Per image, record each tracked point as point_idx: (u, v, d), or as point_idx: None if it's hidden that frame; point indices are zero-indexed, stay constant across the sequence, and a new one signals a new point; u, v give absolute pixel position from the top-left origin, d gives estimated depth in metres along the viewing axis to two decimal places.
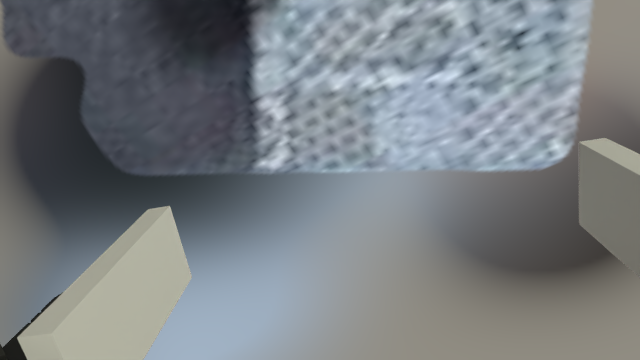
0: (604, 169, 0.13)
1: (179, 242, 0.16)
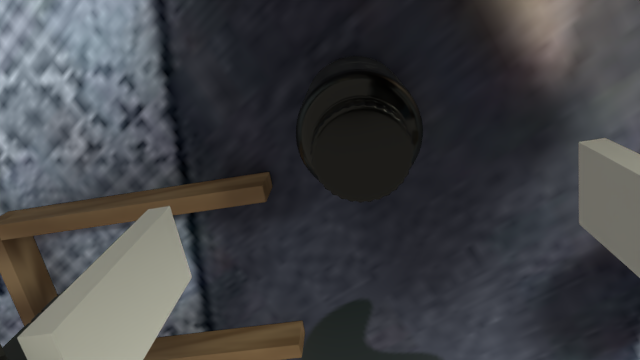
0: (604, 169, 0.13)
1: (179, 242, 0.16)
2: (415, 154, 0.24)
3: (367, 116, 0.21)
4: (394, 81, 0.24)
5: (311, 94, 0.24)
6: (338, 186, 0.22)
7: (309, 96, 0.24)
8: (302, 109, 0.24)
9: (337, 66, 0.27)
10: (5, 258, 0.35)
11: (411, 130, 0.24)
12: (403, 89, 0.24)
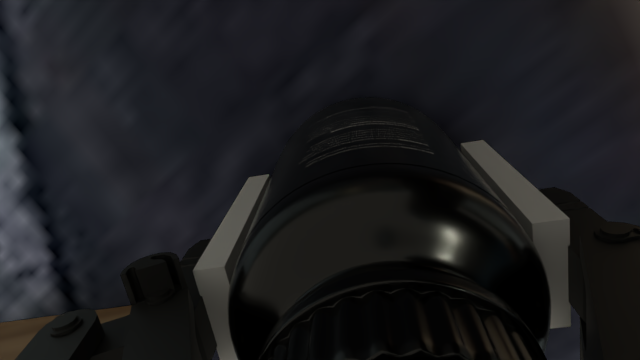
0: None
1: None
2: None
3: None
4: (485, 200, 0.09)
5: (261, 230, 0.09)
6: None
7: (256, 234, 0.09)
8: (239, 266, 0.09)
9: (332, 133, 0.12)
10: None
11: (532, 334, 0.09)
12: (509, 221, 0.09)
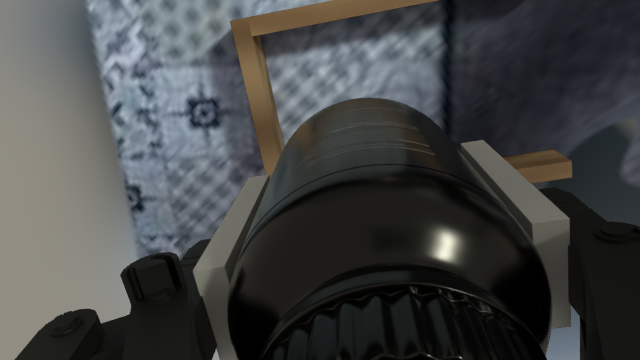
0: None
1: None
2: None
3: None
4: (486, 201, 0.09)
5: (261, 231, 0.09)
6: None
7: (256, 235, 0.09)
8: (239, 267, 0.09)
9: (332, 134, 0.12)
10: (252, 59, 0.31)
11: (533, 336, 0.09)
12: (510, 222, 0.09)
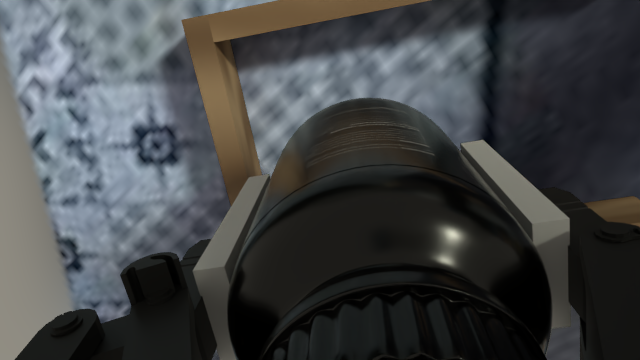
0: None
1: None
2: None
3: None
4: (486, 201, 0.09)
5: (261, 232, 0.09)
6: None
7: (256, 236, 0.09)
8: (238, 268, 0.09)
9: (332, 134, 0.12)
10: (215, 75, 0.22)
11: (533, 336, 0.09)
12: (510, 223, 0.09)
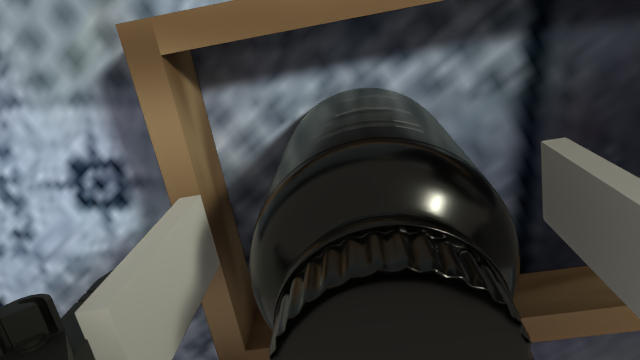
0: (561, 167, 0.13)
1: (209, 230, 0.16)
2: None
3: (416, 297, 0.08)
4: (464, 167, 0.11)
5: (279, 193, 0.11)
6: None
7: (275, 197, 0.11)
8: (260, 224, 0.11)
9: (336, 117, 0.14)
10: (164, 99, 0.16)
11: (502, 277, 0.10)
12: (484, 184, 0.11)
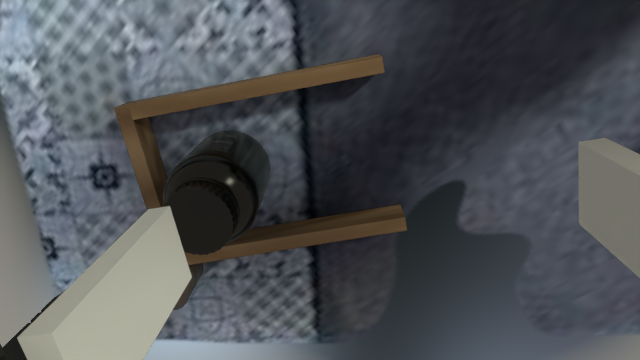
0: (604, 169, 0.13)
1: (179, 242, 0.16)
2: (250, 215, 0.33)
3: (196, 196, 0.29)
4: (231, 163, 0.32)
5: (171, 173, 0.32)
6: (182, 244, 0.30)
7: (170, 174, 0.32)
8: (165, 184, 0.33)
9: (202, 145, 0.35)
10: (134, 138, 0.37)
11: (244, 199, 0.32)
12: (238, 169, 0.32)
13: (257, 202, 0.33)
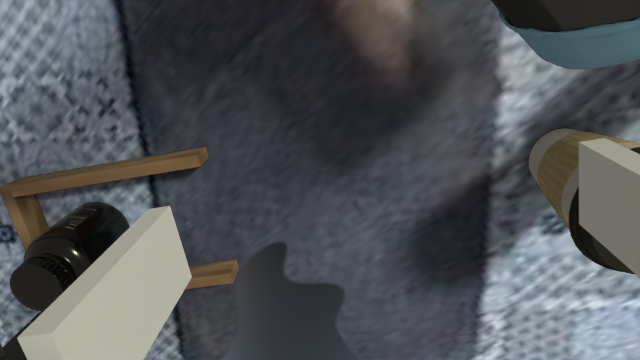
0: (604, 169, 0.13)
1: (179, 242, 0.16)
2: None
3: (33, 270, 0.40)
4: (71, 240, 0.43)
5: (28, 246, 0.43)
6: (28, 303, 0.41)
7: None
8: None
9: (62, 220, 0.46)
10: (16, 210, 0.48)
11: (80, 268, 0.43)
12: (76, 245, 0.43)
13: None
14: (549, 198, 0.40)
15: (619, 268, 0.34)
